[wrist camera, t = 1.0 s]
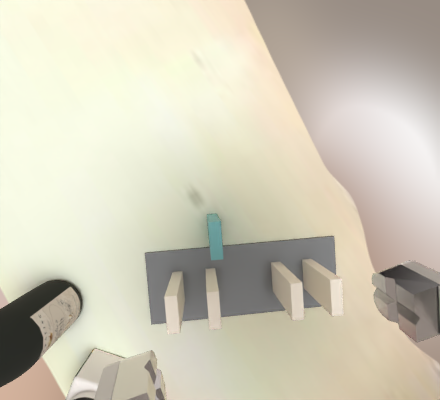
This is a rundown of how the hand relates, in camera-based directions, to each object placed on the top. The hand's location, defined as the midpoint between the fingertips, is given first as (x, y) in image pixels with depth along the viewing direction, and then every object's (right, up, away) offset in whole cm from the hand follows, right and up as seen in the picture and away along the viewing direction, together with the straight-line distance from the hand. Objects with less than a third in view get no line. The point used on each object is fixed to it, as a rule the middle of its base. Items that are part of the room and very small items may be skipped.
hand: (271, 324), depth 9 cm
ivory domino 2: (-3, -10, +35) cm, 37 cm away
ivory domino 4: (+13, -8, +36) cm, 40 cm away
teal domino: (-3, 0, +35) cm, 36 cm away
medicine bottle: (-21, -25, +36) cm, 48 cm away
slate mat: (+2, -9, +36) cm, 37 cm away
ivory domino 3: (+8, -9, +36) cm, 38 cm away
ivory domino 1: (-9, -10, +35) cm, 37 cm away
